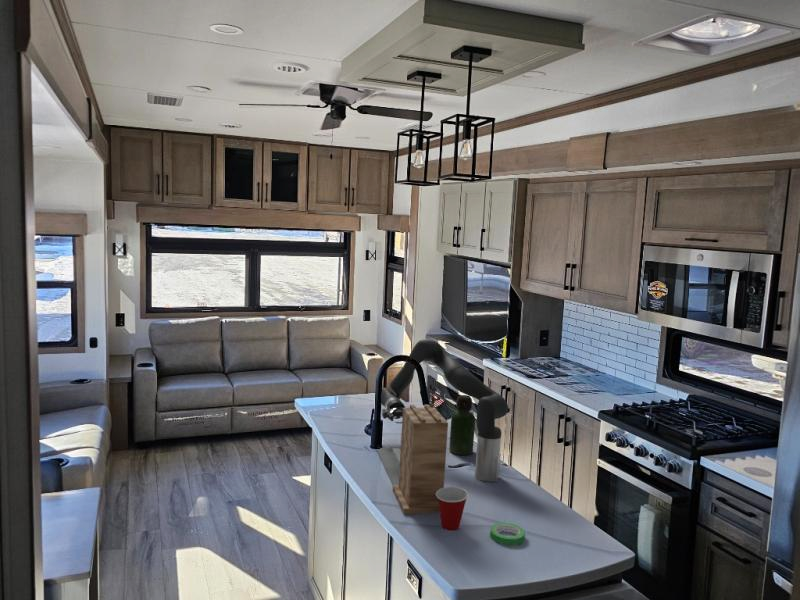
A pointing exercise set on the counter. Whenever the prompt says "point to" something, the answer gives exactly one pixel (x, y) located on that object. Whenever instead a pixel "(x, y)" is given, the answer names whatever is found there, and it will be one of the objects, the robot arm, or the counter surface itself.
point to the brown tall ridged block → (421, 460)
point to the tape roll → (507, 539)
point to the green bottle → (462, 427)
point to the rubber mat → (389, 464)
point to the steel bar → (396, 455)
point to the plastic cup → (451, 506)
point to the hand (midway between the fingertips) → (402, 418)
